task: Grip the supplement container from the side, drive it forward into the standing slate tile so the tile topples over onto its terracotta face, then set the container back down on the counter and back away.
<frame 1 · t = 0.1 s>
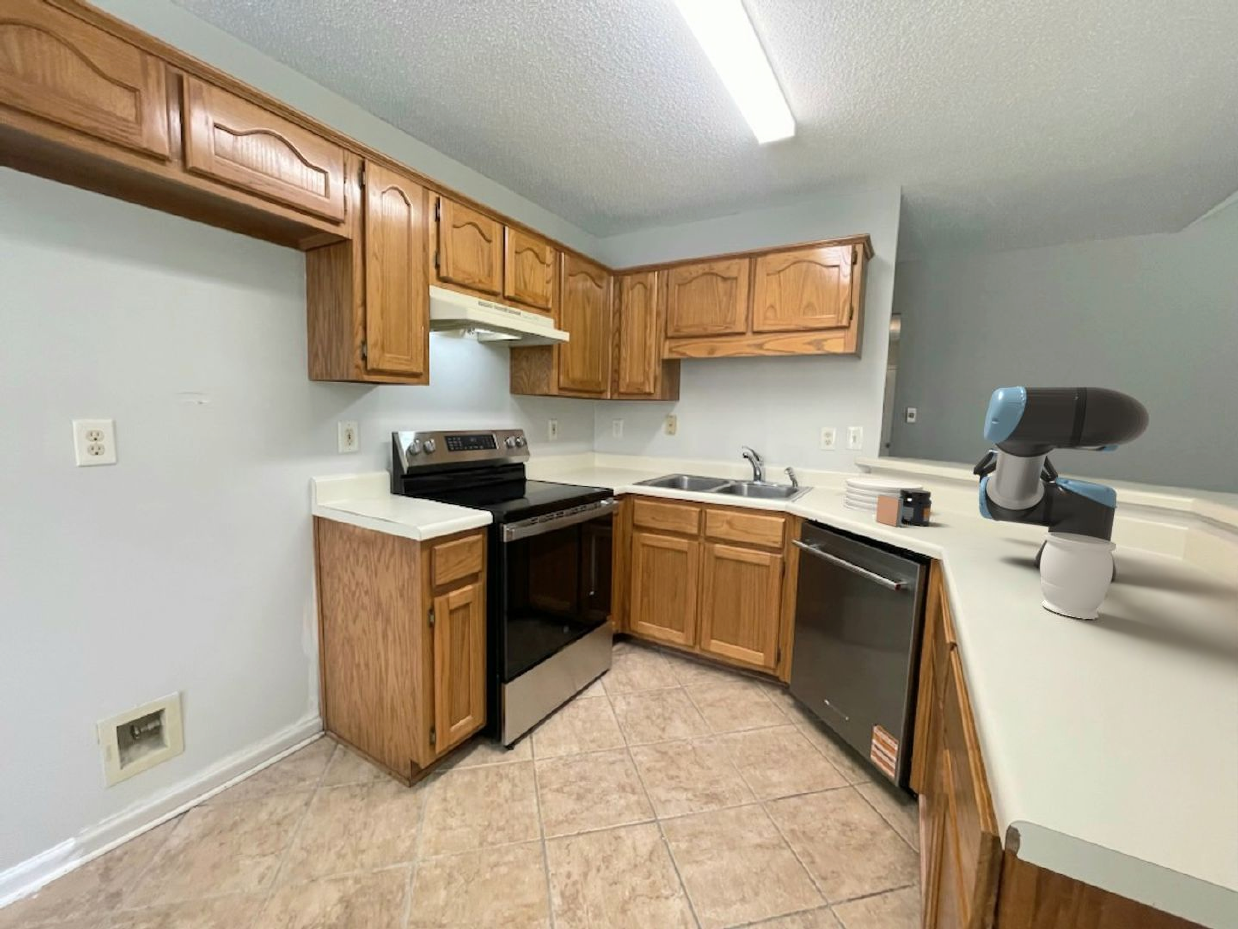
hand: (1011, 493, 154), 15 cm above the counter, tool tilted 35°, fingers open, 13 cm apart
plate stack: (880, 510, 203), on the counter
tile: (888, 524, 174), on the counter
jar: (1068, 612, 97), on the counter
supplement container: (912, 523, 177), on the counter
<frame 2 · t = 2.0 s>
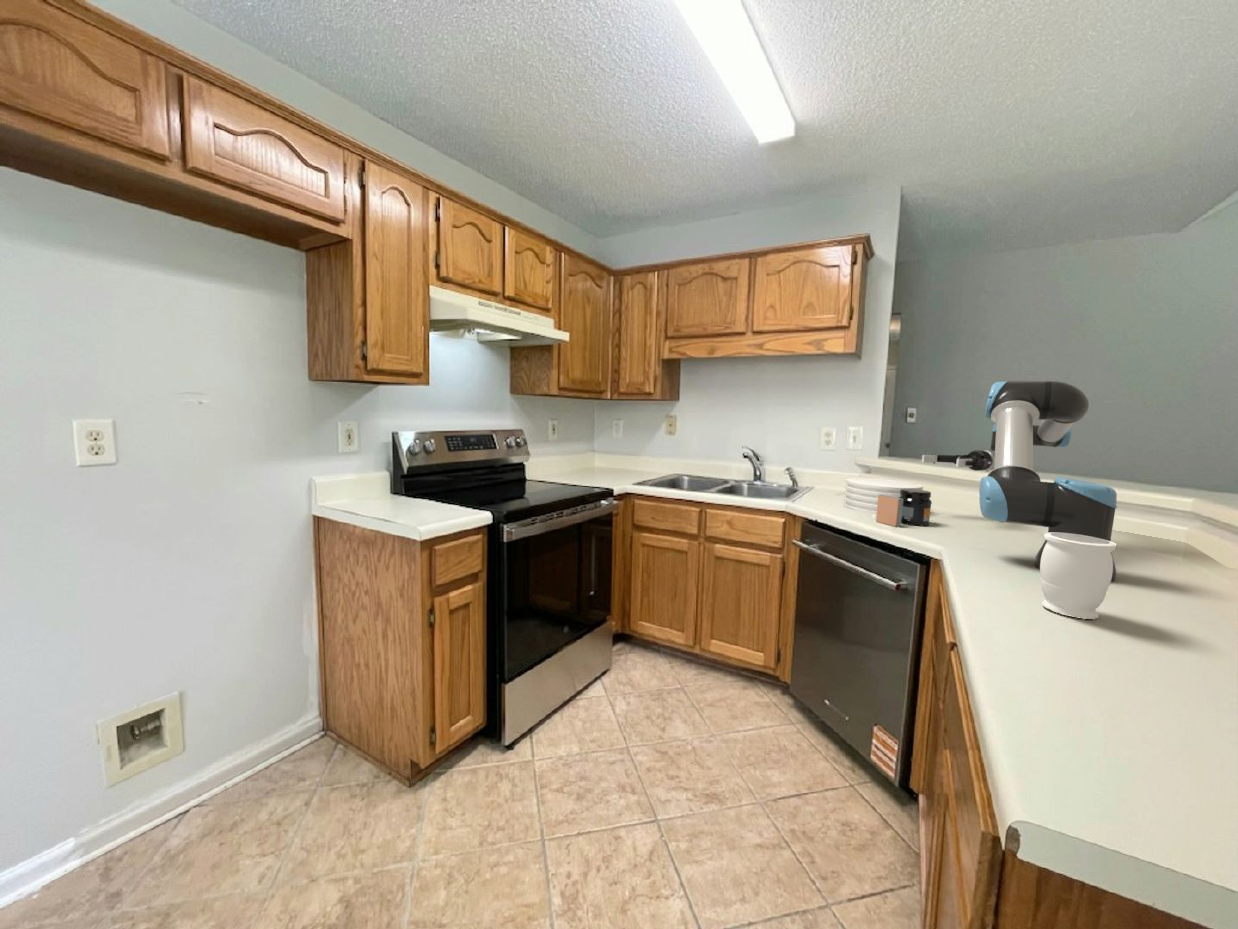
hand: (939, 460, 177), 23 cm above the counter, tool horizontal, fingers open, 13 cm apart
nothing on the counter moved.
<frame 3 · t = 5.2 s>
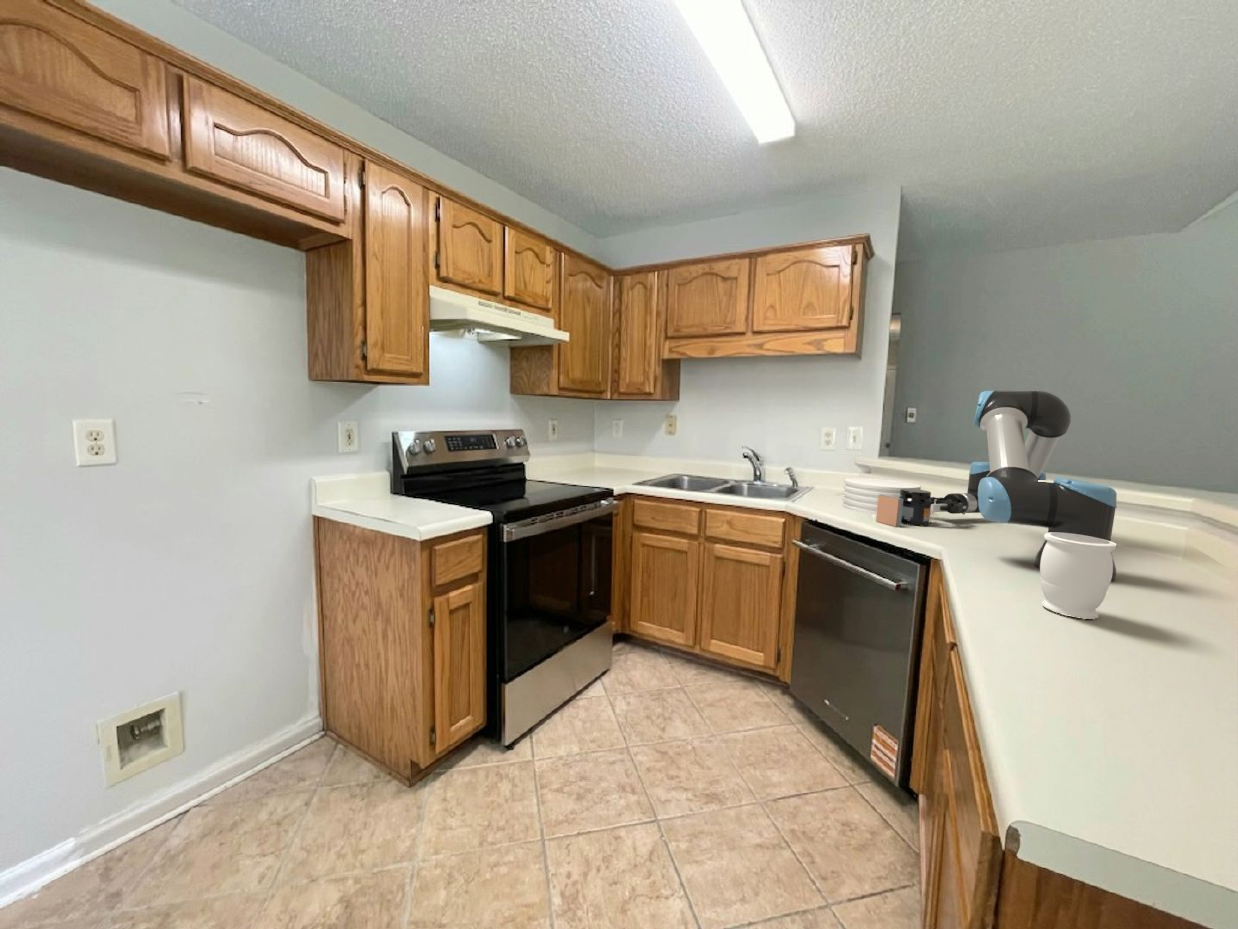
hand: (914, 504, 177), 7 cm above the counter, tool horizontal, fingers open, 13 cm apart
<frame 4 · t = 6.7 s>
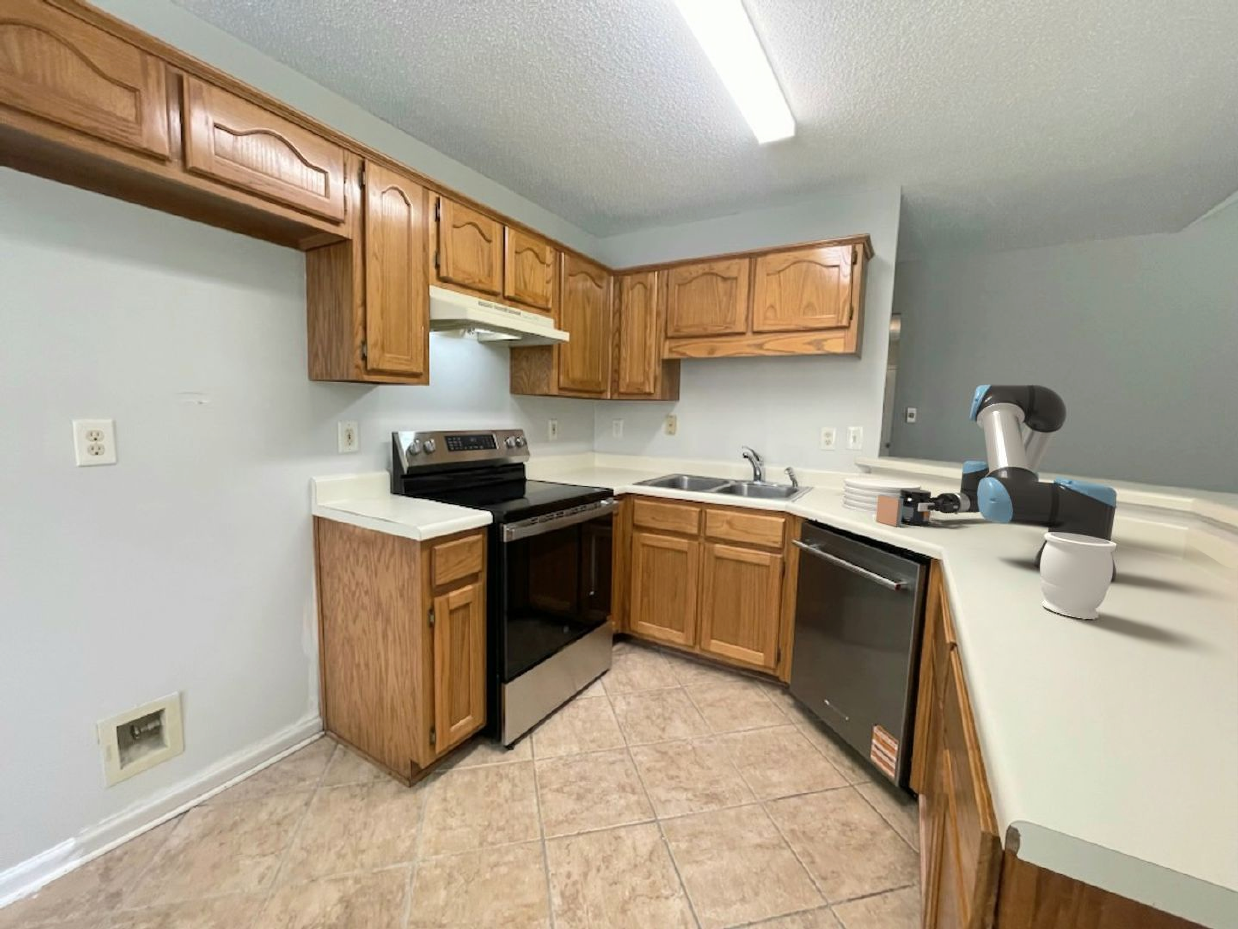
hand: (905, 504, 175), 7 cm above the counter, tool horizontal, fingers closed on supplement container, 10 cm apart
supplement container: (912, 523, 177), on the counter, touching gripper
everything else where it was.
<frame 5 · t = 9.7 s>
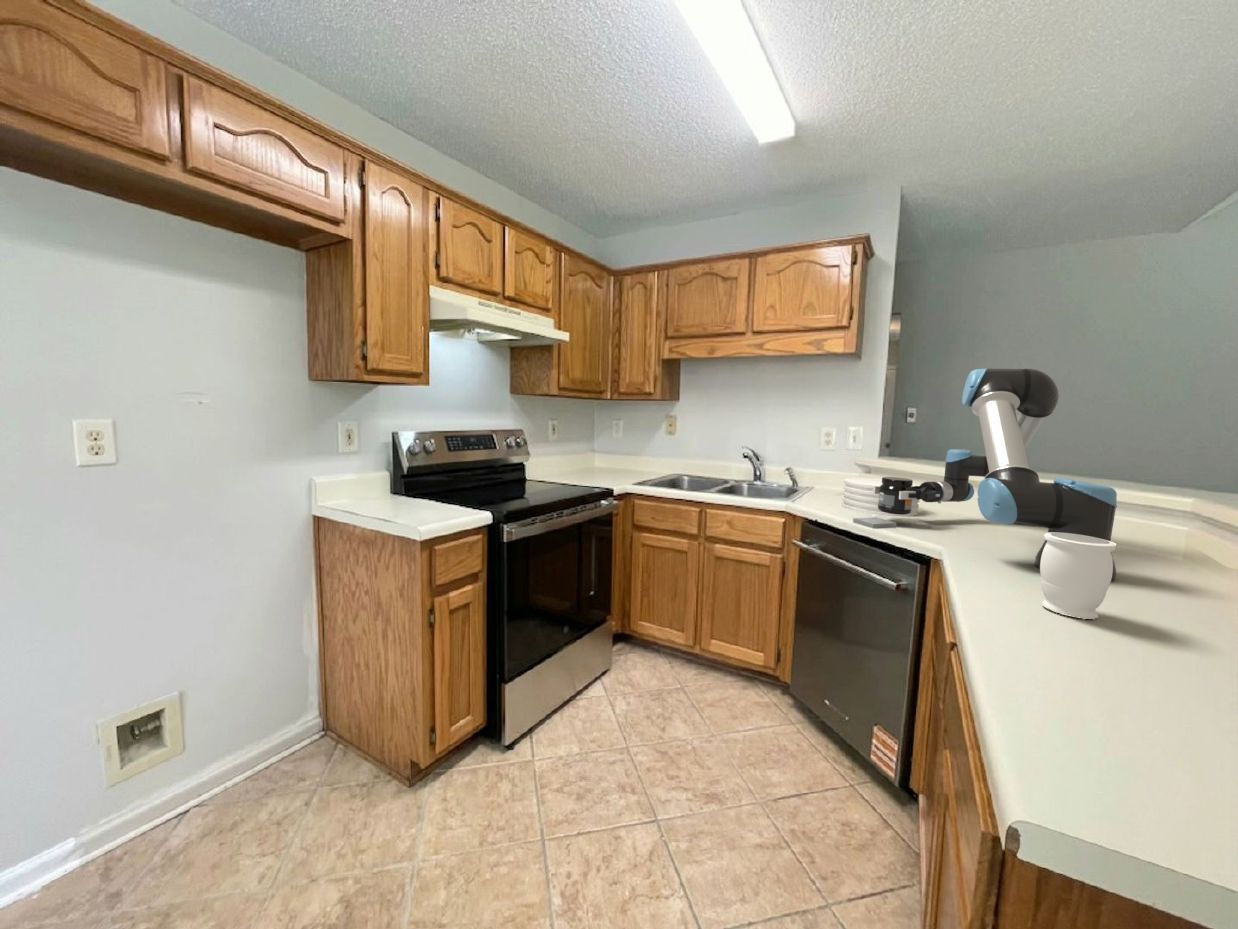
hand: (886, 492, 172), 11 cm above the counter, tool horizontal, fingers closed on supplement container, 10 cm apart
tile: (885, 522, 173), point 1 cm above the counter, tilted 90°
supplement container: (893, 512, 174), point 4 cm above the counter, touching gripper
everything else where it was.
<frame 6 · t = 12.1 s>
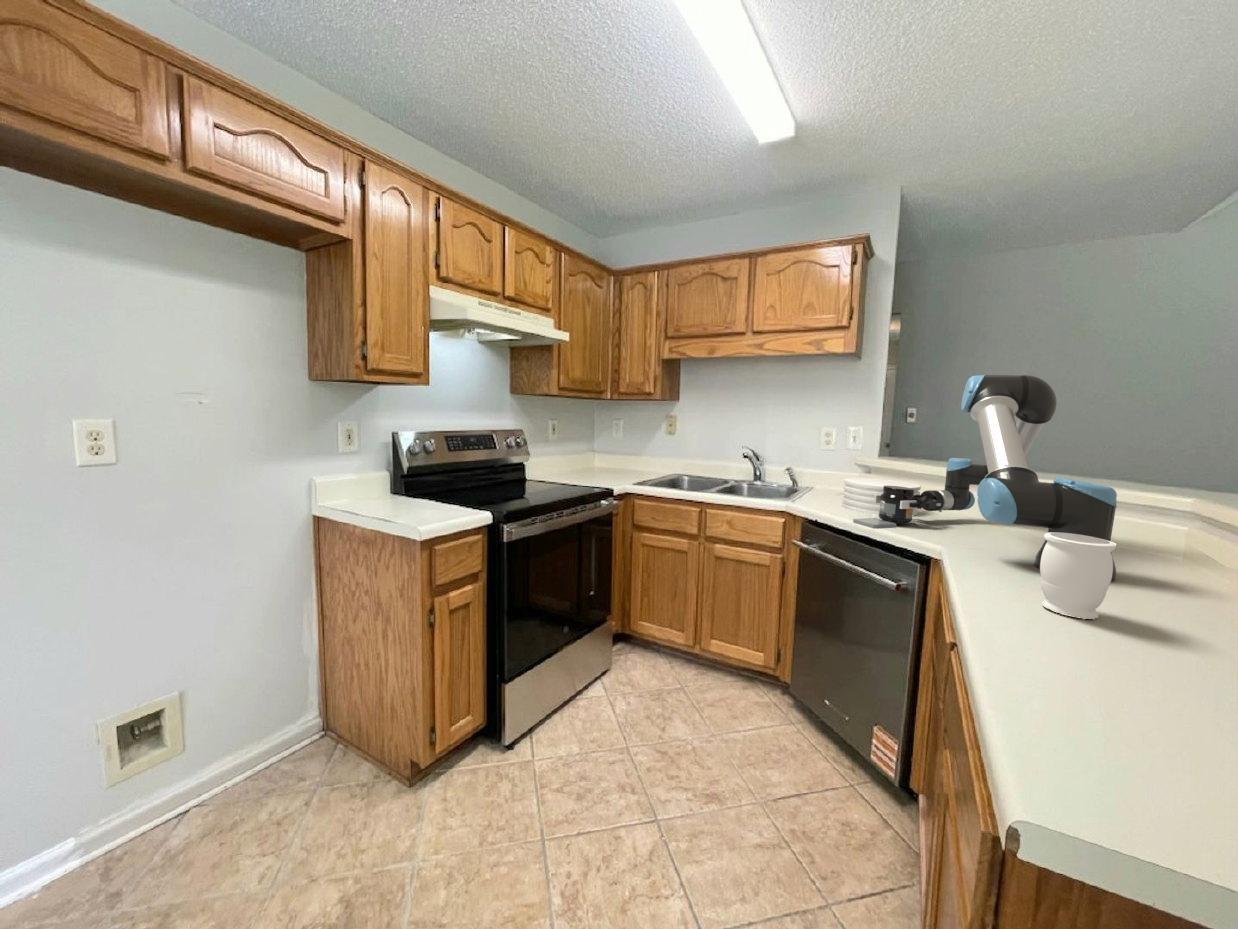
hand: (887, 501, 173), 8 cm above the counter, tool horizontal, fingers closed on supplement container, 10 cm apart
tile: (885, 522, 174), on the counter, tilted 90°, touching supplement container
supplement container: (894, 521, 175), point 1 cm above the counter, touching gripper, tile
everything else where it was.
when the fingers open (8 cm above the counter, at t = 12.5 s): supplement container moves 4 cm, point 1 cm above the counter.
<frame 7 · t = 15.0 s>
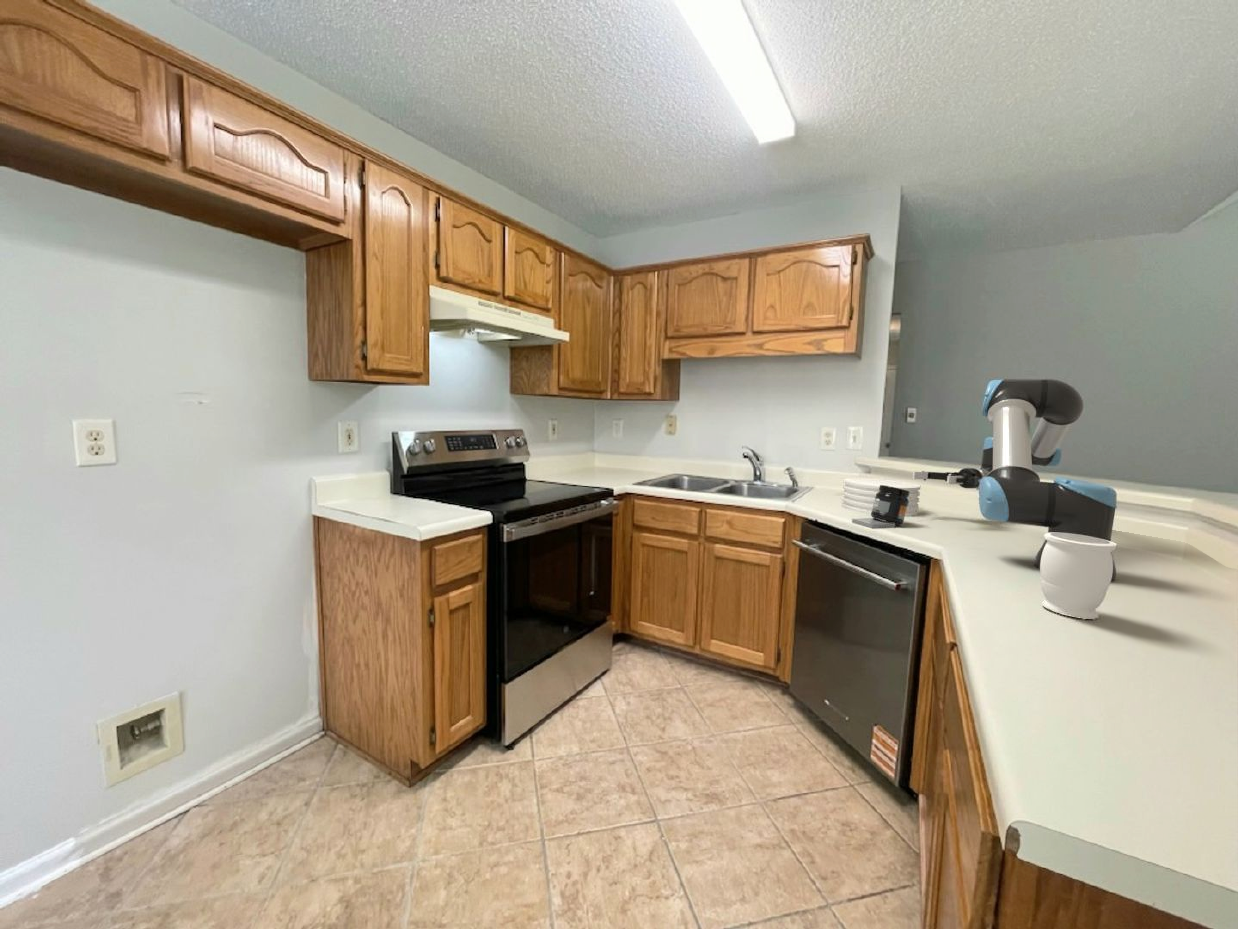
hand: (930, 477, 175), 17 cm above the counter, tool horizontal, fingers open, 13 cm apart
tile: (884, 523, 173), point 1 cm above the counter, tilted 90°
supplement container: (885, 521, 174), point 1 cm above the counter
everything else where it was.
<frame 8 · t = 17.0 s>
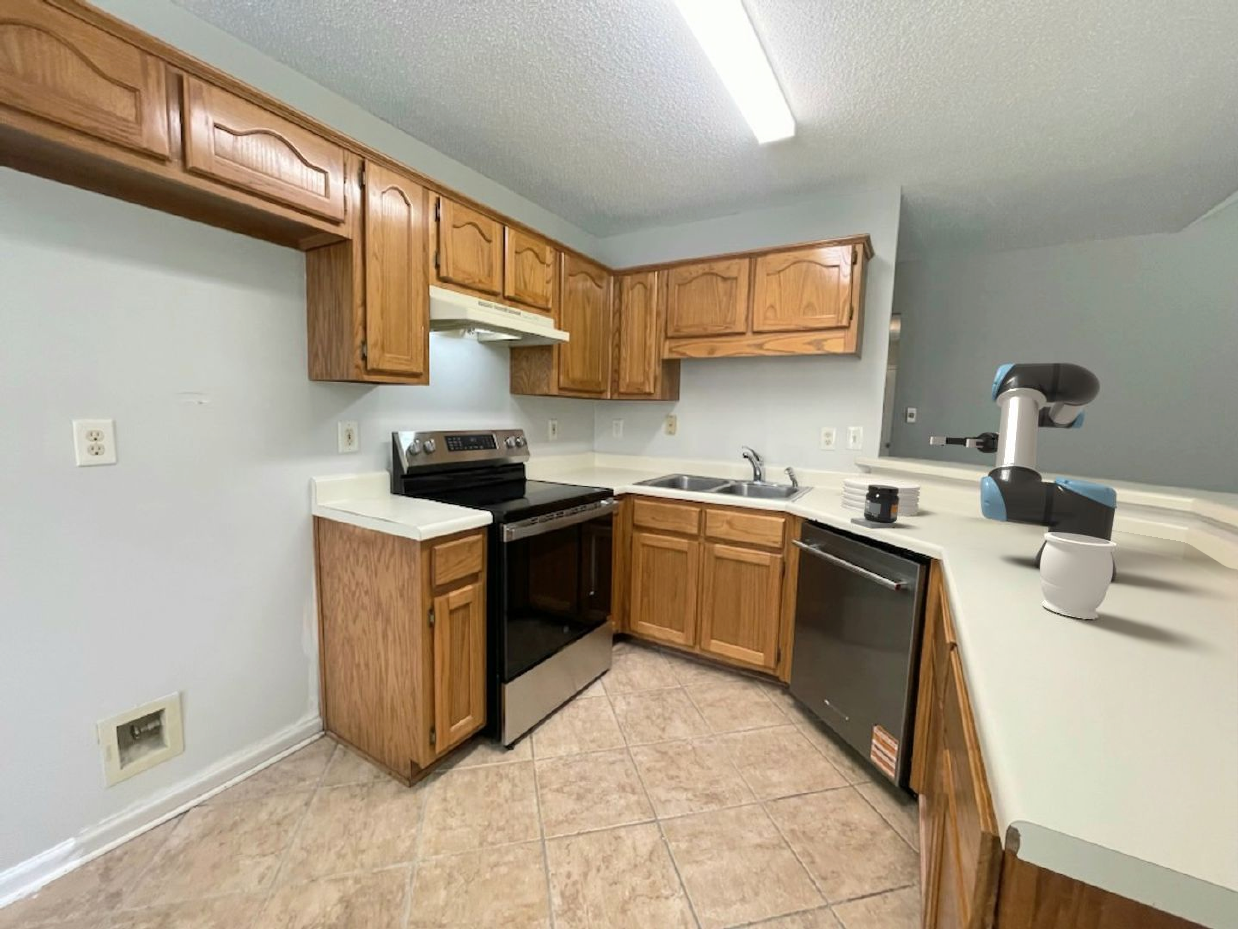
hand: (948, 441, 172), 30 cm above the counter, tool horizontal, fingers open, 13 cm apart
supplement container: (879, 520, 173), point 1 cm above the counter
at the end: tile tilted 90°; supplement container tilted 1°; the gripper is holding nothing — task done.
